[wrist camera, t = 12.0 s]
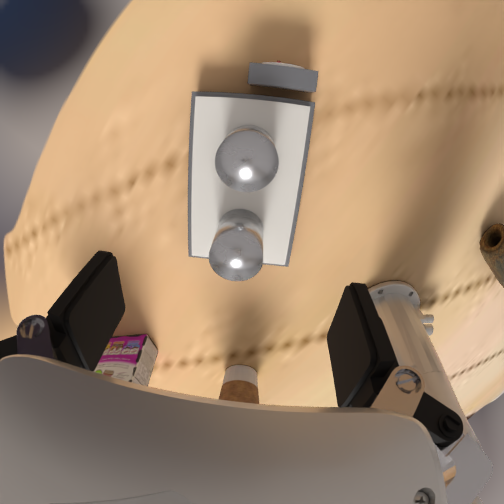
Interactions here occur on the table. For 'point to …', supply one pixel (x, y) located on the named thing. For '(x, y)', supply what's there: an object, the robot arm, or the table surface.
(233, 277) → the cylinder
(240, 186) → the cylinder
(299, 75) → the scale
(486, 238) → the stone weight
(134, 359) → the candy bar box
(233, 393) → the coffee cup
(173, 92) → the table surface
